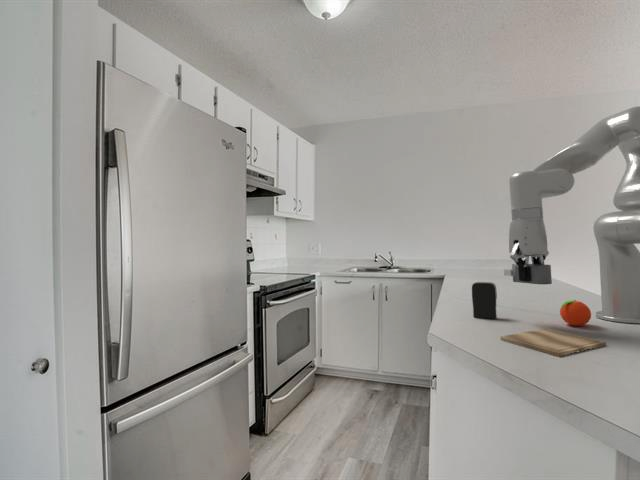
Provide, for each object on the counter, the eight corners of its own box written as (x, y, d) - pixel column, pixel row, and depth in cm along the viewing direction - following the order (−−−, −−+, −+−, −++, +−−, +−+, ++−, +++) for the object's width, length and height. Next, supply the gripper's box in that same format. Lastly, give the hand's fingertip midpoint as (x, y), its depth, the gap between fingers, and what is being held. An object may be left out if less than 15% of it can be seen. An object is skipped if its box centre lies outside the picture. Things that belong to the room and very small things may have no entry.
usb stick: (555, 283, 90) (554, 264, 90) (544, 284, 88) (543, 266, 88) (513, 279, 101) (512, 263, 102) (502, 280, 100) (501, 264, 100)
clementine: (572, 329, 89) (570, 303, 89) (551, 323, 95) (549, 299, 95) (598, 327, 90) (597, 301, 90) (575, 321, 96) (574, 297, 96)
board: (544, 331, 88) (544, 327, 88) (606, 345, 75) (605, 341, 75) (500, 339, 82) (500, 336, 82) (558, 356, 69) (558, 352, 69)
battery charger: (498, 317, 105) (497, 281, 105) (496, 320, 102) (495, 283, 102) (475, 315, 109) (473, 280, 110) (472, 317, 106) (470, 282, 106)
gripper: (534, 216, 100) (539, 276, 100) (493, 218, 94) (498, 282, 94) (560, 213, 93) (565, 278, 93) (518, 215, 87) (522, 284, 87)
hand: (531, 279), depth 94 cm, fingers closed on usb stick, 4 cm apart
